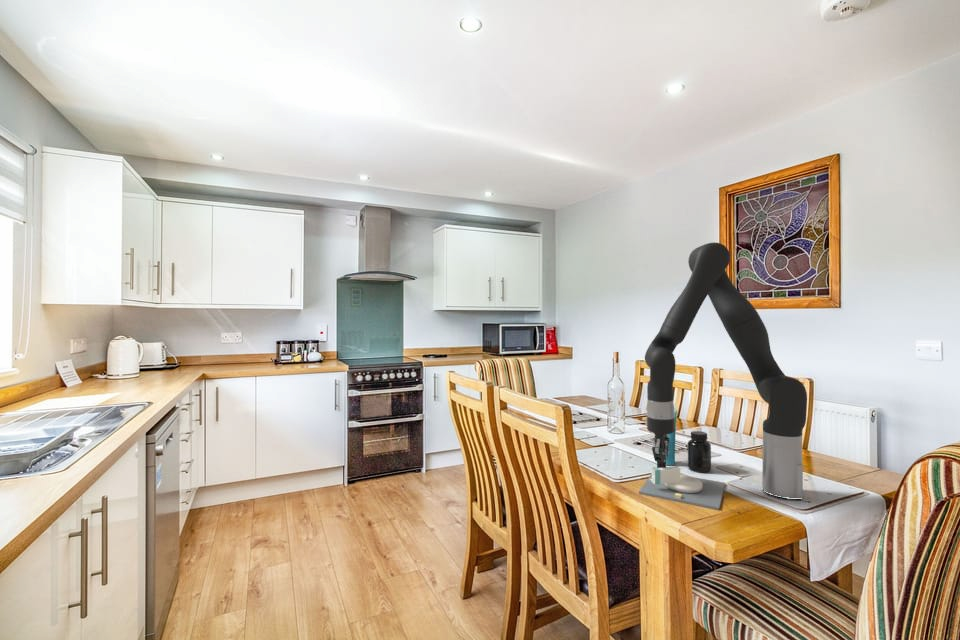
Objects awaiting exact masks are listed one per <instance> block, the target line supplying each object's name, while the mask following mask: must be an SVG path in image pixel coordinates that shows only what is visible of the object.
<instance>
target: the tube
mask: <svg viewBox="0 0 960 640" xmlns="http://www.w3.org/2000/svg"><path fill="white" fill-rule="evenodd" d="M674 412H675V431H674V433H671V434H667V437H669V439H670V441H669V451H668V457H667V461H666V466H674V465H675V464H676V429H677V415H678V408H677V407H676V408H675V407H674Z"/></svg>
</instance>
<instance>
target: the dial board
mask: <svg viewBox="0 0 960 640" xmlns="http://www.w3.org/2000/svg"><path fill="white" fill-rule="evenodd" d="M693 477H694V476H693ZM694 478H696V479H698V480H700V481H701V482H702V491H700V492H697V493H684V492H679V491H675V490H672V489H670V488H668V487H666V486H665V484H657V485H655V484H653V483H652V473H651V474H650V475H649V476H648V478H647V480H646V481H645V482H644V484H643V485H642V486H641V488H640V489H639V491H638V494H639V495H643V494H644V496H648V495H649V496H648V497H653V496H654V497H653V498H659V499H662V500H663V499H664V500H668V501H672V500H673V502H677V501H678V502H679V503H682V504H687V505H692V506H693V505H694V506H697V507H701V508H707V509H710V510H711V509H712V510H717V511H720V507H721V503H722V499H723V495H724V491H725V490H724V489H725V485H726V482H723V481H718V480H717V481H716V480H711V479H705V478H701V477H700V478H699V477H696V476H695V477H694Z"/></svg>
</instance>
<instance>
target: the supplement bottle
mask: <svg viewBox="0 0 960 640" xmlns="http://www.w3.org/2000/svg"><path fill="white" fill-rule="evenodd" d="M687 467H688V470H690V471H691V472H695V473H701V474H702V473H703V474H704V473H705V474H706V473H710V472H711V471H712V445H711V443H710V442H709V441H708V433H707V432H705V431H699V430H695V431H691V432H690V440H688V442H687Z"/></svg>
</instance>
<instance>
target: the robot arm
mask: <svg viewBox="0 0 960 640" xmlns="http://www.w3.org/2000/svg"><path fill="white" fill-rule="evenodd" d="M730 261H731V254H730V250H729V249H728V248H727V246H725V245H724V244H722V243H720V242H709V243H706V244H705V243H704V244H702V245H700V246H698V247H696V248H694V249H693V250H692V251H691V253H690V254H689V257H688V267H689V269H690V271H691V275H690V277H689V279H688V282H687V283H686V286H685V287H684V288H683V290H682V292H681V293H680V295H679V296H678V297H677V299H676V300H675V302H674V303H673V305H672V306H671V308H670V309H669V311H668V313H666V316H665V318H664V321H663V323H662V324H661V327H660V329H659V331H658V332H657V334H656V335H655V337H654V338H653V339H652V340H651V343H650V344H649V346H648V348H647V349H646V352H645V354H644V361H645V362H644V363H645V364H646V365H647V367H648V368H649V381H648V382H647V385H646V386H647V387H646V389H647V397H646V398H647V401H646V429H647V431H648V432H650V433H653V434H654V437H653V438H652V444H653V446H652V448H651V451H652V454H653V459H654V461H655V462H656V468H665V467H667V465H666V461H667V457H668V451H669V441H670V439H669V437H667V434H671V433H674V431H675V412H674V408H675V403H674V385H673V384H674V380H675V374H676V357H675V354H673V353H674V351H675V349H676V348H677V347H678V345H679V344H681V343H683V341H684V340H685V338H686V336H687V334H688V332H689V330H690V329H691V327H692V324H693V322H694V321H695V318H696V316H697V314H698V312H699V310H700V308H701V307H702V305H703V303H704V301H705V300H706V298H707V296H708V297H709V300H710V301H711V304H712V306H713V307H714V310H715V312H716V314H717V315H718V317H719V320H720V321H721V323H722V326H723V327H724V329H725V332H727V334H728V337H729V338H730V339H731V341H732V343H733V344H734V346H735V348H736V350H737V351H738V353H739V355H740V357H741V358H742V360H743V361H744V363H745V365H746V366H747V368H748V370H749V372H750V375H751V378H752V380H753V382H754V385H755V387H756V389H757V392H758V394H759V396H760V397H761V399H762V400H763V401H764V402H765V403H767V404H768V405H769V409H768V417H767V418H766V419H764V420H763V421H762V471H761V472H762V474H761V475H762V477H761V479H762V480H761V481H762V483H761V485H762V486H761V487H762V488H763V490H765V491H766V492H768V493H771V494H773V495H777V496H781V497H789V498H803V493H804V492H803V489H804V488H803V484H804V483H803V481H804V480H803V477H804V476H803V474H804V470H803V469H804V465H803V430H804V427H805V426H806V423H807V410H808V393H807V392H808V391H807V389H806V387H805V385H804V383H802V382H801V380H799V379H798V378H795V377H793V376H787V375H786V374H785V373H784V371H782V369H781V368H780V366H779V364H778V363H777V361H776V360H775V358H774V356H773V354H772V350H771V345H770V338H769V333H768V330H767V327H766V325H765V323H764V322H763V320H762V318H761V316H760V314H759V312H758V311H757V309H756V308H755V307H754V306H753V304H752V303H751V302H750V301H749V300H748V299H747V298H746V297H745V295H743V294H742V293H741V291H739V290H738V288H737V287H736V286H735V285H734V283H732V281H731V278H730V277H729V275H728V273H727V271H726V269H727V268H728V267H729V264H730ZM763 490H762V491H763Z"/></svg>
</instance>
